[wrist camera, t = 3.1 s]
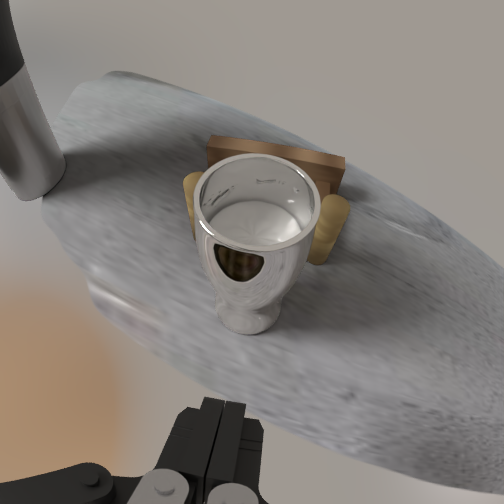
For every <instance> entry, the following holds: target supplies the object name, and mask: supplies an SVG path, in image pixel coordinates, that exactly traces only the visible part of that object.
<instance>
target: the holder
mask: <svg viewBox="0 0 504 504" xmlns="http://www.w3.org/2000/svg"><path fill="white" fill-rule="evenodd" d="M249 153H258V154H267V155H272V156H276V157H280V158H282V159H285V160H287V161H289V162H291V163H293V164H295V165H296V166H298V167H299V168H301V169H302V170H303V171H304V172H305V173H306V174H307V175H308V176H309V177H310V178H311V179H312V181H313V182H314V184H315V186H316V187H317V190H318V192H319V196H320V201H321V210H320V215H319V218H318V221H317V225H316V230H315V234H314V239H313V243H312V246H311V250H310V253H309V256H308V259H307V261H308V262H310V263H311V264H314V265H321V264H323V263H324V262H325V261H326V260H327V258H328V256H329V254H330V251H331V249H332V247H333V245H334V243H335V241H336V239H337V237H338V235H339V233H340V231H341V229H342V227H343V225H344V223H345V220H346V218H347V216H348V214H349V212H350V205H349V203H348V201H347V200H346V199H345V198H343V197H342V196H339V195H336V193H337V191H338V188H339V185H340V183H341V180H342V177H343V174H344V172H345V157H341V156H336V155H332V154H327V153H322V152H317V151H312V150H307V149H302V148H296V147H291V146H285V145H279V144H273V143H267V142H260V141H253V140H246V139H239V138H231V137H223V136H215V135H211V137H210V140H209V142H208V144H207V158H208V169H209V168H210V167H211V166H213V165H214V164H216V163H218V162H219V161H221V160H224V159H226V158H229V157H232V156H236V155H241V154H249ZM204 173H205V172H193V173H190V174H189V175H187V176H186V177H185V178H184V181H183V186H184V192H185V197H186V202H187V207H188V212H189V217H190V222H191V227H192V232H193V237H194V240H195V241H196V237H195V224H194V209H193V193H194V189H195V187H196V184H197V182H198V181H199V179H200V178H201V176H202V175H203V174H204Z"/></svg>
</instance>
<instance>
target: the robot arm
mask: <svg viewBox="0 0 504 504" xmlns="http://www.w3.org/2000/svg"><path fill="white" fill-rule="evenodd" d="M65 169H66V161H65V158H64V156H63V154H62V152H61V150H60V148H59V146H58V144H57V142H56V139H55V137H54V135H53V132H52V130H51V128H50V126H49V123H48V121H47V119H46V117H45V114H44V112H43V109H42V107H41V104H40V102H39V99H38V97H37V94H36V92H35V89H34V87H33V84H32V81H31V79H30V76H29V73H28V71H27V68H26V65H25V62H24V59H23V56H22V53H21V50H20V47H19V44H18V40H17V37H16V33H15V30H14V26H13V22H12V17H11V13H10V7H9V0H0V174H1V175H2V177H3V178H4V179H5V181H6V183H7V184H8V186H9V187H10V189H11V190H13V192H14V193H15V194H16V196H17V197H18V198H19V199H20V200H22V201H31V200H34V199H37V198H39V197H41V196H43V195H44V194H46V193H47V192H49V191H50V190H51V189H52V188H53V187H54V186H55V185H56V184H57V183H58V182H59V180H60V179H61V177H62V176H63V174H64V171H65ZM224 405H225V407H224ZM245 408H246V404H243V403H237V402H231V401H226V403H225V400H219V399H214V398H209V397H204V399H203V402H202V405H201V408H200V409H195V408H190V407H187V408H186V409H185V410H183V411H182V412H181V413H180V414H178V416H177V418H176V421H175V423H174V426H173V428H172V430H171V433H170V435H169V437H168V439H167V441H166V444H165V446H164V448H163V451H162V453H161V455H160V457H159V460H158V462H157V464H156V466H155V468H154V469H153V470H152V471H149V472H148V473H146V474H145V475H144V476H140V477H119V476H111V474H110V472H109V471H108V470H107V469H106V468H104V467H103V466H101V465H99V464H95V463H81V464H78V465H74V466H71V467H67V468H64V469H60V470H57V471H53V472H49V473H45V474H41V475H37V476H33V477H29V478H25V479H20V480H15V481H10V482H4V483H0V504H268V503H267V502H266V501H265V500H264V499H263V498H262V496H261V495H260V493H259V489H258V484H259V475H260V465H261V454H262V443H263V433H264V430H263V428H262V426H261V423H260V422H259V420H257V419H250V418H244V414H245ZM204 501H205V503H204Z"/></svg>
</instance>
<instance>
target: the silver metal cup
mask: <svg viewBox="0 0 504 504" xmlns="http://www.w3.org/2000/svg"><path fill="white" fill-rule="evenodd" d="M193 209H194V224H195V237H196V244H197V251H198V255H199V258H200V262H201V265H202V268H203V271H204V273H205V275H206V277H207V279H208V281H209V282H210V284H211V286H212V287H213V289H214V290H215V292H216V296H215V309H216V313H217V315H218V317H219V319H220V321H221V322H222V323H223V324H224V325H225V326H226V327H227V328H229V329H230V330H232V331H234V332H236V333H240V334H245V335H251V334H257V333H260V332H263V331H265V330H267V329H268V328H269V327H271V326H272V325H273V324H274V323H275V321H276V320H277V318H278V316H279V314H280V310H281V298H282V297H283V296H284V295H285V294H286V293H287V292H288V291H289V290H290V288H291V287H292V286H293V284H294V283H295V282H296V280H297V279H298V277H299V276H300V274H301V272H302V270H303V268H304V266H305V264H306V261H307V259H308V256H309V253H310V250H311V246H312V243H313V239H314V234H315V230H316V225H317V221H318V218H319V215H320V210H321V201H320V196H319V192H318V190H317V187H316V186H315V184H314V182H313V181H312V179H311V178H310V177H309V176H308V175H307V174H306V173H305V172H304V171H303V170H302V169H301V168H299V167H298V166H296V165H295V164H293V163H291V162H289V161H287V160H285V159H282V158H280V157H276V156H272V155H267V154H258V153H249V154H241V155H236V156H232V157H229V158H226V159H224V160H221V161H219V162H218V163H216V164H214V165H213V166H211V167H210V168H209V169H208V170H207V171H206V172H205V173H204V174H203V175H202V176H201V178H200V179H199V181H198V182H197V184H196V187H195V189H194V193H193Z"/></svg>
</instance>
